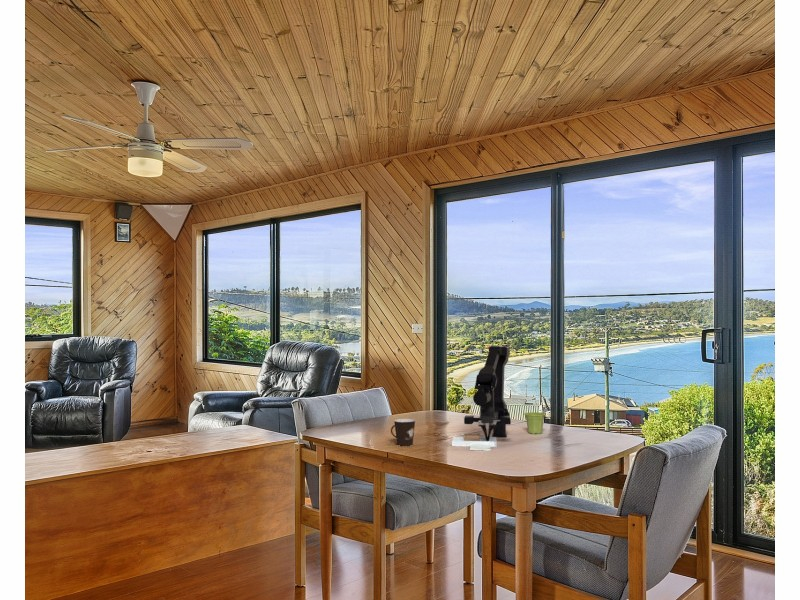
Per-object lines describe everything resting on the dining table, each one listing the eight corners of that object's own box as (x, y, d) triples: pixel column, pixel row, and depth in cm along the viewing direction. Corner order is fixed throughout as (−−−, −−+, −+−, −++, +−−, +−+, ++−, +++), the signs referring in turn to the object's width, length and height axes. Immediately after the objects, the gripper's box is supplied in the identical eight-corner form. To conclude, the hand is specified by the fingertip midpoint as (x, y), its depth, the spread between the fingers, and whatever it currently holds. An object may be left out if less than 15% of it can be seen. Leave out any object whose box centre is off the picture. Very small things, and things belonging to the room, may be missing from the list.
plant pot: (520, 433, 277) (519, 413, 278) (532, 430, 284) (532, 411, 284) (537, 435, 270) (537, 415, 271) (550, 433, 277) (549, 413, 277)
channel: (453, 441, 259) (453, 436, 259) (496, 441, 257) (496, 437, 257) (451, 446, 249) (451, 441, 249) (496, 446, 247) (496, 441, 247)
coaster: (470, 446, 248) (470, 444, 248) (490, 446, 247) (490, 444, 247) (469, 450, 240) (469, 448, 240) (490, 450, 239) (490, 448, 239)
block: (464, 443, 256) (464, 433, 256) (479, 443, 255) (479, 433, 255) (464, 445, 251) (464, 435, 251) (479, 445, 250) (479, 435, 250)
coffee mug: (410, 442, 258) (410, 418, 259) (418, 446, 250) (418, 421, 251) (384, 444, 254) (384, 420, 254) (391, 448, 246) (391, 423, 246)
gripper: (463, 405, 246) (464, 444, 246) (510, 405, 244) (511, 445, 243) (464, 401, 257) (464, 439, 257) (509, 402, 255) (510, 440, 254)
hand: (487, 441), depth 252 cm, fingers closed
